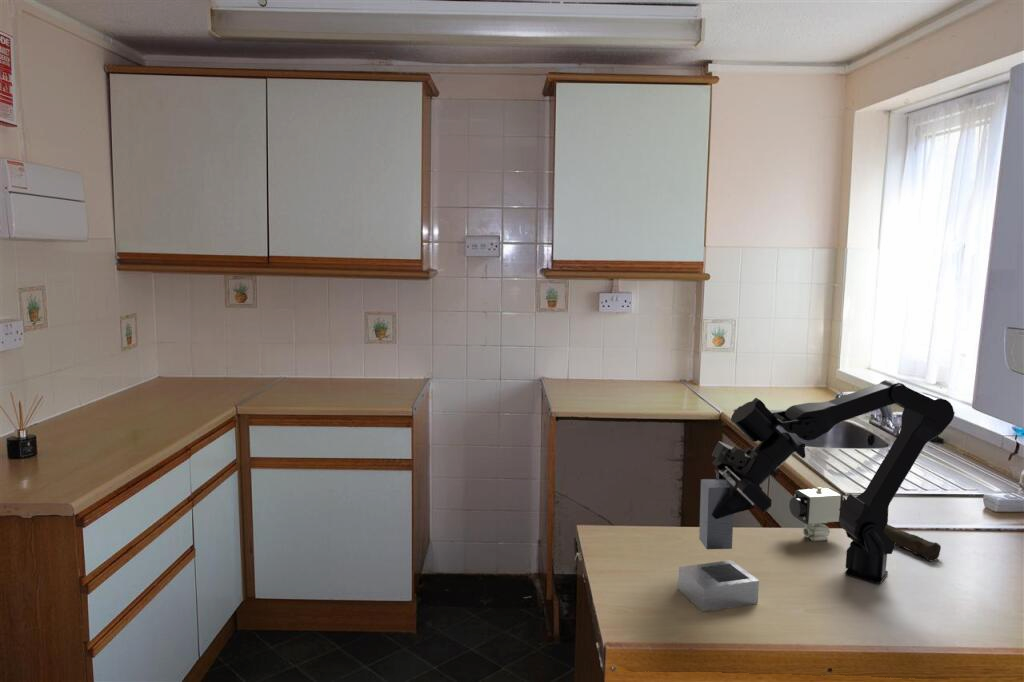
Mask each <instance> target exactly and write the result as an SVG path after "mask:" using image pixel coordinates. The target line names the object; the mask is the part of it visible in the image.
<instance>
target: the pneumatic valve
mask: <svg viewBox="0 0 1024 682" xmlns="http://www.w3.org/2000/svg"><path fill="white" fill-rule="evenodd" d="M794 491H795V492H794V495H793V496H794V497H791V498H790V500H789V503H788V504H789V511H790V513H791V515H792V516H793V517H794V518H795V519H797V520H799V521H801V522H802V523H803V524H804V526H805V527H803V530H802V532H803V535H804V537H805V538H808V539H810V540H811V542H814V543H815V542H824V541H826V542H827V540H828V537H829V535H830V534H831V530H830V528H829V526H828V525H826V524H827V523H835V522H836V523H837V522H839V523H840V521H839V516H840V513H841V511H839V509H840V508H841V507H842V506H843V505H844V504H845V502H846V499H847V498H846V497H845V496H844V494H843V493H840V492H839V491H837V490H835V489H833V488H831V487H828V488H827V487H823V488H822V487H821V486H819V487H816V488H815V487H814V488H807V489H795V490H794Z"/></svg>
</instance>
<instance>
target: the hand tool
mask: <svg viewBox="0 0 1024 682" xmlns="http://www.w3.org/2000/svg"><path fill="white" fill-rule="evenodd" d="M884 533H885V534H886V535H887V536H888V537H889V538H890V539H891V540H892V541H893V542H894V543H895V545H897V546H899V547H901V548H903V549H906V550H907V551H911V552H913V553H915V554H917V555H919V556H922V557H923V558H925V559H926V560H927V562H931V561H930V560H933V561H936V560H938V559H939V557H940V553H941V549H942V547H941V544H940V543H938V542H934V541H933V542H932V541H929V540H927V539H925V538H923V537H920V536H918V535H916V534H911V533H909V532H907V531H904V530H902V529H899V528H897V527H895V526H892V525H890V524H888V523H887V525H886V528H885V530H884ZM935 559H936V560H935Z"/></svg>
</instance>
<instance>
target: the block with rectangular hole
mask: <svg viewBox="0 0 1024 682" xmlns="http://www.w3.org/2000/svg"><path fill="white" fill-rule="evenodd" d="M677 580H678V585H677V590H678V589H679V590H680V591H679V592H680V593H682V594H683V595H684V597H686V598H687V599H688V600H689V601H690V602H691V603H692V604H694V606H696V607H697V608H698V610H700V611H701V612H702V613H704V612H713V611H718V610H725V609H732V608H738V607H745V606H752V605H758V604H759V603H758V601H759V590H760V589H759V588H760V587H759V586H760V580H759V579H758V578H756V577H755V576H754V575H752V574H751V573H749V572H748V571H747V570H746V569H744V568H743V567H742V566H740V565H738V564H737V563H736V562H735V561H733V560H731V559H729V560H722V561H715V562H707V563H698V564H691V565H685V566H684V565H683V566H679V567H678V579H677Z"/></svg>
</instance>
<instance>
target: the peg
mask: <svg viewBox="0 0 1024 682" xmlns="http://www.w3.org/2000/svg"><path fill="white" fill-rule="evenodd" d="M729 488H730V483H729V482H728V481H727V480H726V479H716V478H713V479H712V478H703V479H700V499H699V500H700V501H699V503H700V504H699V531H698V532H699V534H698V535H699V537H698V539H699V541H700V542H701V544H702V545H703V546H704V548H705V549H706V550H733V531H734V530H733V528H734V514H731V515H728V516H725V517H722V518H719V519H715V518H714V517H713V516H712V514H713V513H714V512H715V510H716V509H717V508H718V506H719V505H720V504H721V503H722V502H723V500H724V499H725V498H726V497H727V496H728V494H729Z"/></svg>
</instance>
